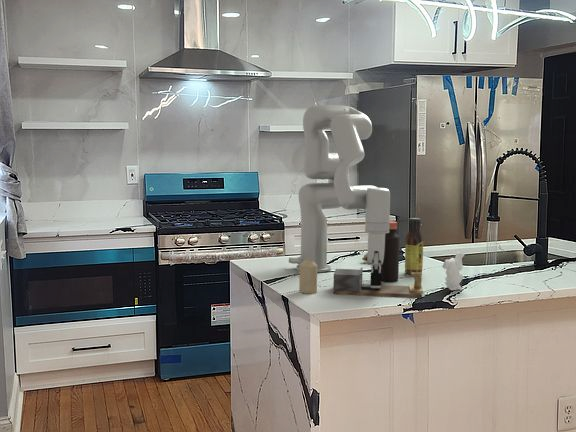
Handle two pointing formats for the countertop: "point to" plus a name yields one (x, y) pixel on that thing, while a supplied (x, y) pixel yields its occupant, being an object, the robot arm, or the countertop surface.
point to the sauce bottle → (414, 248)
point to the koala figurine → (454, 272)
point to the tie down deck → (352, 282)
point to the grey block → (370, 285)
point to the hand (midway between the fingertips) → (375, 282)
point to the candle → (308, 277)
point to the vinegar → (391, 255)
